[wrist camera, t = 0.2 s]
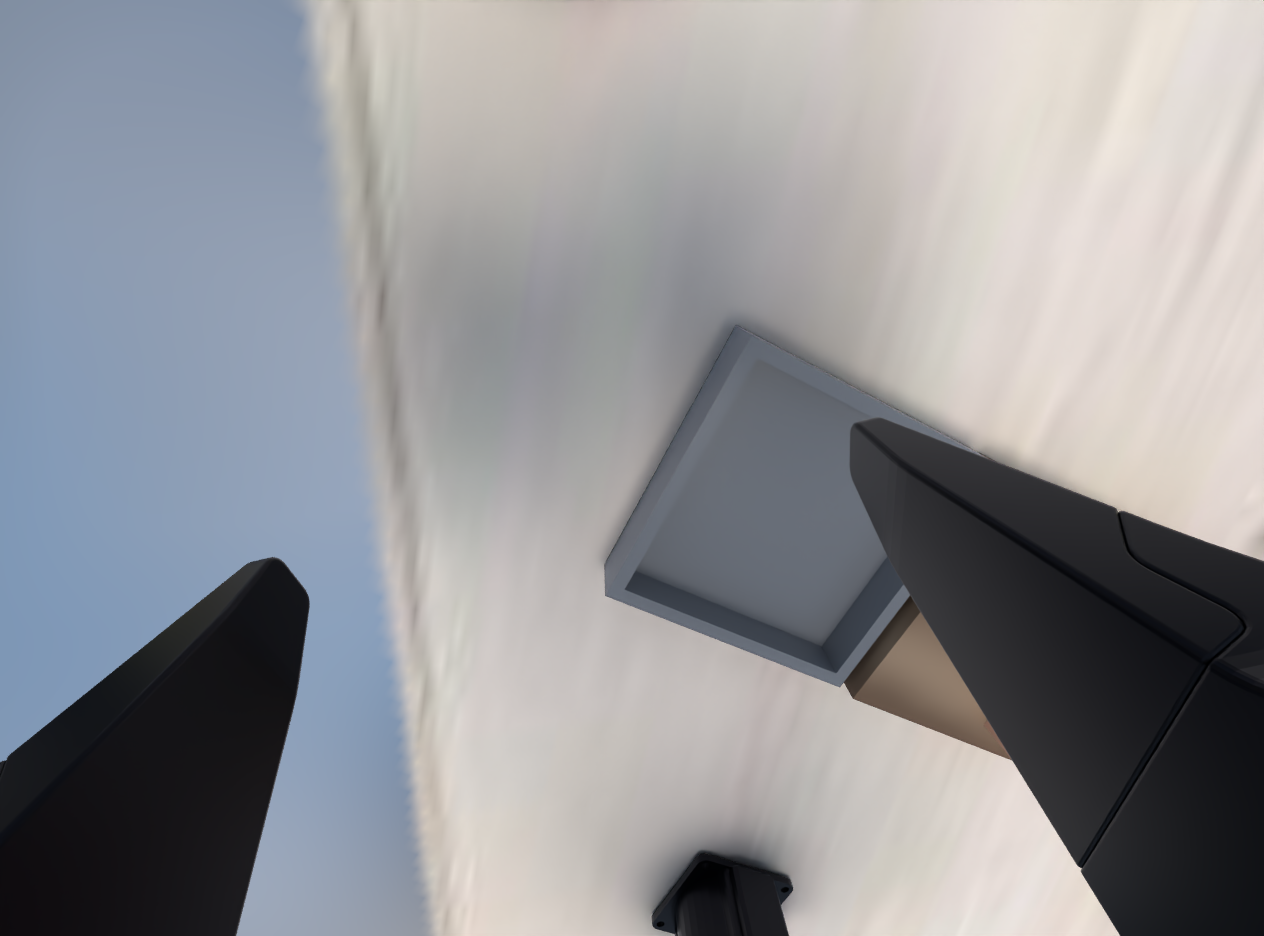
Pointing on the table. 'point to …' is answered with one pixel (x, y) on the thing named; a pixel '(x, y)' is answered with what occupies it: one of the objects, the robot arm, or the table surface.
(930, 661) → the walnut board
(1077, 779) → the robot arm
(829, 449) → the tray
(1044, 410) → the table surface
